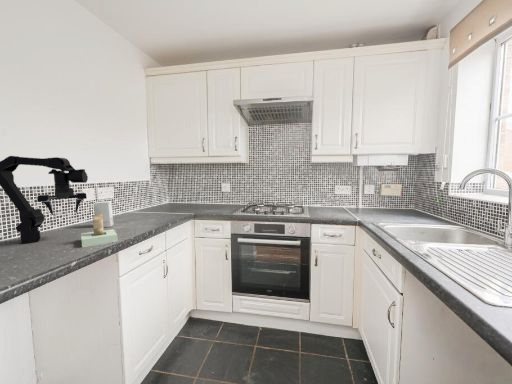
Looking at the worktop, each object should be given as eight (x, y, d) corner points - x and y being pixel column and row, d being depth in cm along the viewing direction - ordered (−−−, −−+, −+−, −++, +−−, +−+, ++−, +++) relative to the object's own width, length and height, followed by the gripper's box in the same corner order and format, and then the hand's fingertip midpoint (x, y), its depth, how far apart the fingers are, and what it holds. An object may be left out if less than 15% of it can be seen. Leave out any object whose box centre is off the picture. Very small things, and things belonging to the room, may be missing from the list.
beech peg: (94, 242, 113) (92, 216, 111) (94, 240, 116) (92, 214, 115) (104, 241, 115) (102, 215, 114) (103, 239, 118) (102, 214, 117)
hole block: (82, 247, 106) (81, 239, 105) (81, 240, 117) (81, 233, 116) (117, 241, 114) (117, 234, 114) (114, 235, 125) (113, 229, 125)
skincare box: (113, 224, 150) (112, 200, 149) (110, 227, 144) (108, 202, 143) (98, 225, 148) (97, 201, 147) (94, 228, 142) (93, 202, 140)
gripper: (34, 184, 104) (37, 219, 105) (85, 182, 115) (88, 214, 117) (37, 183, 113) (40, 215, 114) (85, 182, 124) (87, 211, 126)
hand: (64, 214), depth 117 cm, fingers open, 9 cm apart
